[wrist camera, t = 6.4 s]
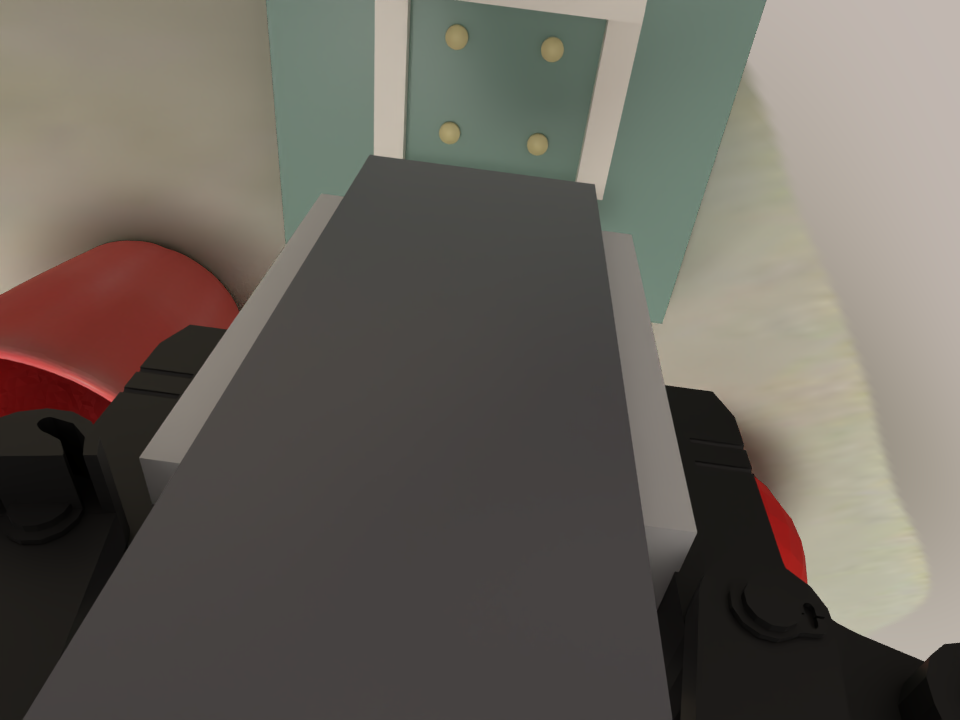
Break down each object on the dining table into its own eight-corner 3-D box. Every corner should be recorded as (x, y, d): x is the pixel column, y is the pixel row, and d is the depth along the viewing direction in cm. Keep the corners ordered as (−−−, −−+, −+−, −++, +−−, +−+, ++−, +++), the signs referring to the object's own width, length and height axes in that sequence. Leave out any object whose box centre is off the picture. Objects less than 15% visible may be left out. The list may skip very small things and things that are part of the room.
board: (248, -491, 16) (134, -623, 11) (878, -410, 16) (1005, -512, 11) (299, 257, 28) (253, 332, 24) (656, 303, 28) (677, 387, 24)
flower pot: (292, 416, 34) (216, 585, 26) (76, 392, 34) (-64, 552, 26) (269, 222, 27) (159, 368, 19) (2, 192, 27) (-214, 326, 20)
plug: (369, 155, 12) (-7, 767, 4) (594, 184, 12) (693, 861, 4) (368, 361, 15) (149, 970, 7) (551, 386, 15) (554, 1025, 7)
